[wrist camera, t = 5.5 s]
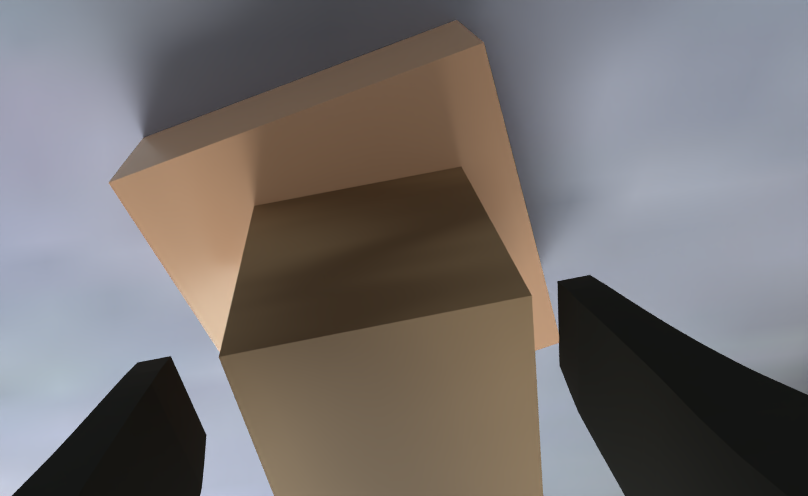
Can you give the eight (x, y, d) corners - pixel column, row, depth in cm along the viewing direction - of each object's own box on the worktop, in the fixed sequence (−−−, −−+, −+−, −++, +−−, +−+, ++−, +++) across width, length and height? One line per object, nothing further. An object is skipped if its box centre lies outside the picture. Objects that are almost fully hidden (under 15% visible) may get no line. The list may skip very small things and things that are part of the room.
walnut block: (461, 166, 13) (531, 295, 9) (479, 331, 15) (543, 499, 11) (254, 205, 13) (218, 356, 8) (303, 366, 15) (295, 550, 11)
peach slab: (454, 18, 14) (483, 42, 12) (526, 280, 18) (560, 341, 16) (145, 134, 15) (108, 182, 12) (282, 365, 19) (276, 437, 16)
